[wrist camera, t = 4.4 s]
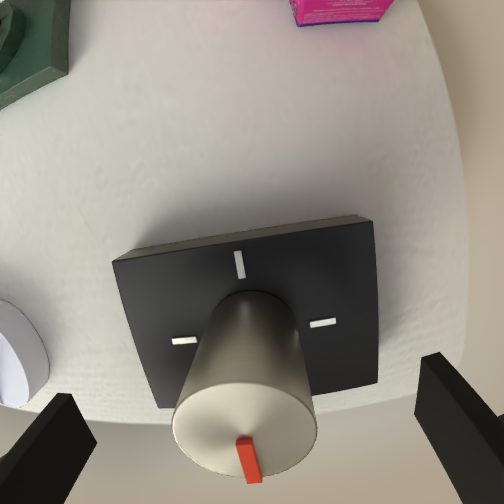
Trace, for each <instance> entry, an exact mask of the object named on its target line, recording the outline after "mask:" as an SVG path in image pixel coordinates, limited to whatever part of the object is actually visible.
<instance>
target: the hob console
mask: <svg viewBox="0 0 504 504" xmlns="http://www.w3.org/2000/svg"><path fill="white" fill-rule="evenodd" d="M112 265H113V269H114V273H115V277H116V281H117V285H118V289H119V292H120V296H121V300H122V303H123V307H124V310H125V314H126V317H127V320H128V324H129V327H130V330H131V333H132V336H133V339H134V343H135V346H136V349H137V352H138V355H139V358H140V360H141V363H142V366H143V369H144V372H145V374H146V377H147V380H148V383H149V385H150V388H151V391H152V393H153V396H154V398H155V401H156V403H157V406H158V408H176V405H177V402H178V400H179V397H180V394H181V392H182V389H183V386H184V384H185V381H186V378H187V376H188V373H189V370H190V368H191V365H192V363H193V360H194V357H195V355H196V352H197V349H198V347H199V344H200V342H201V339H202V336H203V334H204V331H205V329H206V326H207V323H208V321H209V318H210V316H211V314H212V312H213V310H214V309H215V308H216V306H217V305H218V304H219V303H220V302H221V301H223V300H224V299H226V298H227V297H229V296H231V295H233V294H236V293H239V292H244V291H259V292H264V293H267V294H270V295H272V296H275V297H276V298H278V299H280V300H281V301H282V302H284V303H285V304H286V305H287V306H288V307H289V309H290V310H291V312H292V313H293V315H294V317H295V320H296V324H297V328H298V333H299V338H300V343H301V347H302V352H303V357H304V362H305V367H306V372H307V376H308V381H309V386H310V391H311V396H314V395H320V394H326V393H332V392H337V391H342V390H347V389H352V388H357V387H362V386H366V385H371V384H375V383H377V382H378V347H379V327H378V288H377V268H376V253H375V240H374V229H373V221H371V220H369V219H366V218H364V217H361V216H359V215H350V216H343V217H336V218H329V219H322V220H315V221H308V222H301V223H295V224H288V225H281V226H275V227H268V228H262V229H255V230H249V231H242V232H236V233H230V234H224V235H217V236H211V237H205V238H199V239H193V240H187V241H181V242H175V243H169V244H163V245H157V246H151V247H146V248H140V249H134V250H131V251H129V252H127V253H126V254H124V255H122V256H120V257H118V258H117V259H115V260H113V261H112Z"/></svg>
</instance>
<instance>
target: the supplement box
mask: <svg viewBox="0 0 504 504" xmlns="http://www.w3.org/2000/svg"><path fill="white" fill-rule="evenodd" d="M289 1H290V3H291V7H292V10H293V13H294V17H295V20H296V24H297V26H298V27H302V26H311V25H321V24H334V23H351V22H378V21H379V20H380V18H381V17H382V16H383V14H384V13H385V12H386V10H387V9H388V7H389V6H390V5H391V3H392V2H393V1H394V0H289Z"/></svg>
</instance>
